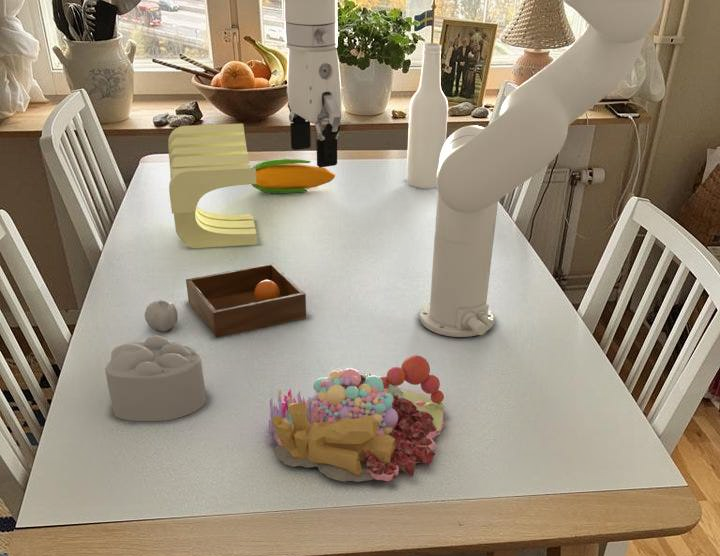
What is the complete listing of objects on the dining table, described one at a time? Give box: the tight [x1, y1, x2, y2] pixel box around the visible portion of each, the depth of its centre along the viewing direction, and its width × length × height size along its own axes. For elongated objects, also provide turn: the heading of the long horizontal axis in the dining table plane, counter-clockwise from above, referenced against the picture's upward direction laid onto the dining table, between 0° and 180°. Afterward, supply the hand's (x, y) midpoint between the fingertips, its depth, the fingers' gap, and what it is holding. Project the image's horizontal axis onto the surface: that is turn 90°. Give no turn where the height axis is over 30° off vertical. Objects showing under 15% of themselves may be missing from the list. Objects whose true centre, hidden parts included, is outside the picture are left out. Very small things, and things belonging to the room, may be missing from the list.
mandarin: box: [255, 280, 280, 302], centre depth 148 cm, size 4×4×4 cm
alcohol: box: [405, 42, 449, 189], centre depth 194 cm, size 9×9×30 cm
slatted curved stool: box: [167, 123, 259, 249], centre depth 170 cm, size 30×16×18 cm, turn 11°
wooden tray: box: [185, 262, 307, 338], centre depth 147 cm, size 14×16×4 cm
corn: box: [250, 158, 336, 194], centre depth 195 cm, size 7×8×20 cm
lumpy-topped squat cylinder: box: [104, 335, 207, 422], centre depth 122 cm, size 10×13×9 cm
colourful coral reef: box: [268, 354, 445, 483], centre depth 115 cm, size 25×24×9 cm
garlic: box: [144, 299, 179, 332], centre depth 141 cm, size 6×5×5 cm
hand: (313, 157), depth 132 cm, fingers open, 9 cm apart
